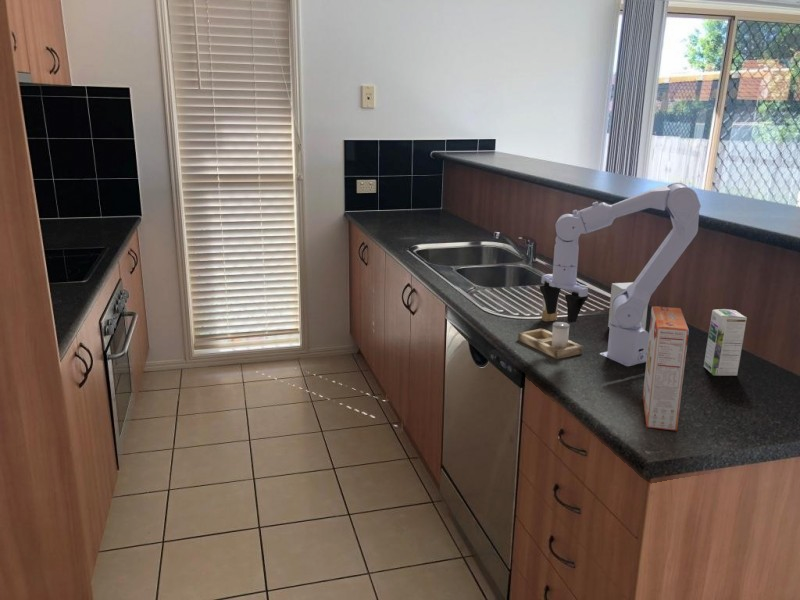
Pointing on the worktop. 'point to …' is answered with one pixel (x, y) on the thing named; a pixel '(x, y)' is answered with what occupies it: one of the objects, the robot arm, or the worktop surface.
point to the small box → (616, 290)
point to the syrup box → (725, 342)
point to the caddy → (548, 343)
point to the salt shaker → (560, 335)
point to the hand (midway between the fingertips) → (561, 317)
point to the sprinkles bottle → (546, 316)
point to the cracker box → (665, 367)
